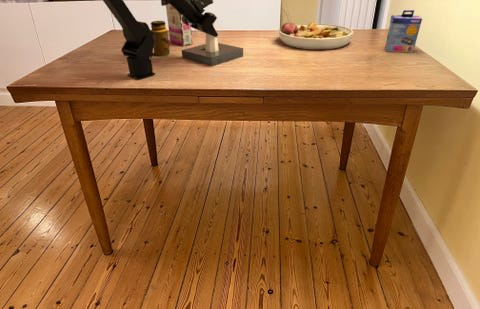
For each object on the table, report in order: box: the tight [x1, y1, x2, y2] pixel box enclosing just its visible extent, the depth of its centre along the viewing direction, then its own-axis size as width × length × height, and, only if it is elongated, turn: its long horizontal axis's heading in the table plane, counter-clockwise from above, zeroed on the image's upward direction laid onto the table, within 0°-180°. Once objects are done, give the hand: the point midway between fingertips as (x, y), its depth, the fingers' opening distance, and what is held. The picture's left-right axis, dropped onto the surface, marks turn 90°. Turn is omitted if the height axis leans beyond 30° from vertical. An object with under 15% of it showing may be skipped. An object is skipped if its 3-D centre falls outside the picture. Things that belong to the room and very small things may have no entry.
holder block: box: [181, 42, 244, 67], centre depth 123 cm, size 16×16×3 cm
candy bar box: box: [165, 4, 193, 47], centre depth 140 cm, size 11×5×16 cm, turn 41°
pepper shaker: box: [205, 22, 219, 52], centre depth 121 cm, size 5×5×11 cm
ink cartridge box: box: [384, 9, 423, 53], centre depth 123 cm, size 10×6×14 cm, turn 78°
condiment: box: [150, 20, 174, 59], centre depth 126 cm, size 7×8×12 cm
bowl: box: [278, 22, 354, 51], centre depth 139 cm, size 30×30×8 cm
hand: (214, 35), depth 120 cm, fingers closed on pepper shaker, 4 cm apart
